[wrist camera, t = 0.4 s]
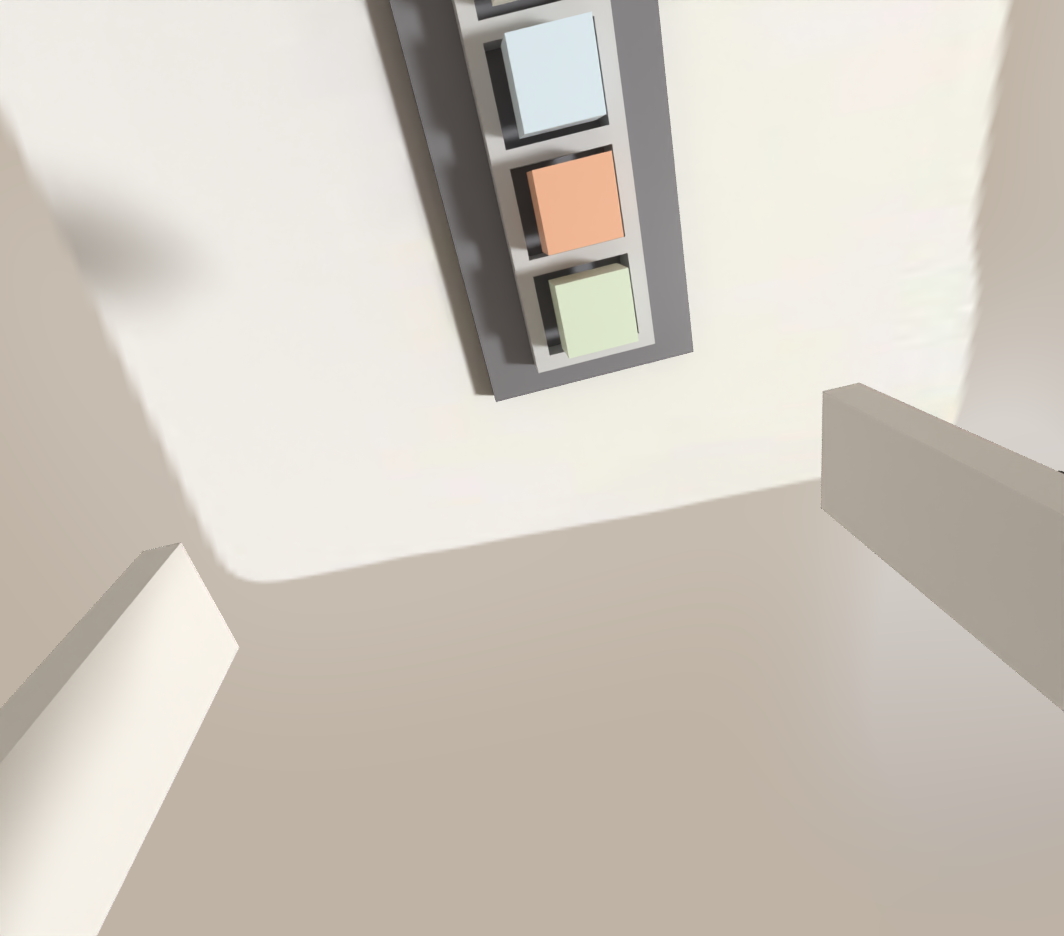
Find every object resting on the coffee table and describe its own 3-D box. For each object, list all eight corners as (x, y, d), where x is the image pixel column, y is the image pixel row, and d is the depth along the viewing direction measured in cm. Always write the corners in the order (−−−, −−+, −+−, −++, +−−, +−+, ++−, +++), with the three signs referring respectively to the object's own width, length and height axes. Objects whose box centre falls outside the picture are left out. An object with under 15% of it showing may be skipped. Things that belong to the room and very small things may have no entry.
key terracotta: (526, 172, 27) (531, 170, 25) (600, 153, 27) (611, 150, 25) (542, 251, 29) (548, 255, 27) (612, 234, 29) (624, 236, 27)
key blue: (500, 45, 25) (504, 33, 23) (581, 25, 25) (591, 11, 23) (519, 139, 27) (524, 134, 25) (595, 120, 27) (606, 114, 25)
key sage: (548, 280, 30) (554, 286, 28) (616, 262, 30) (628, 267, 28) (562, 348, 31) (569, 358, 29) (627, 331, 31) (638, 341, 29)
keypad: (355, -128, 25) (343, -168, 22) (628, -194, 25) (649, -242, 22) (494, 395, 35) (498, 412, 32) (686, 347, 35) (705, 359, 33)
